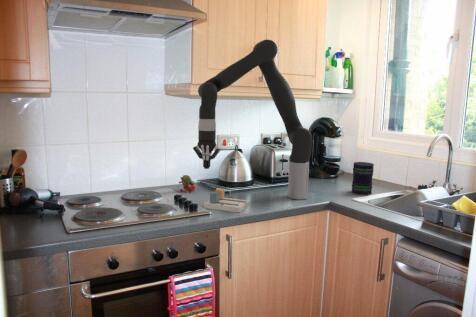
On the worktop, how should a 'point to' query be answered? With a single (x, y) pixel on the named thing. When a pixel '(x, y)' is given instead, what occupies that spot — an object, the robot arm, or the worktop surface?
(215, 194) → the fader teal
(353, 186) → the storage jar
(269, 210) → the worktop surface
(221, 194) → the fader orange
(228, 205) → the console
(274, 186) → the worktop surface
